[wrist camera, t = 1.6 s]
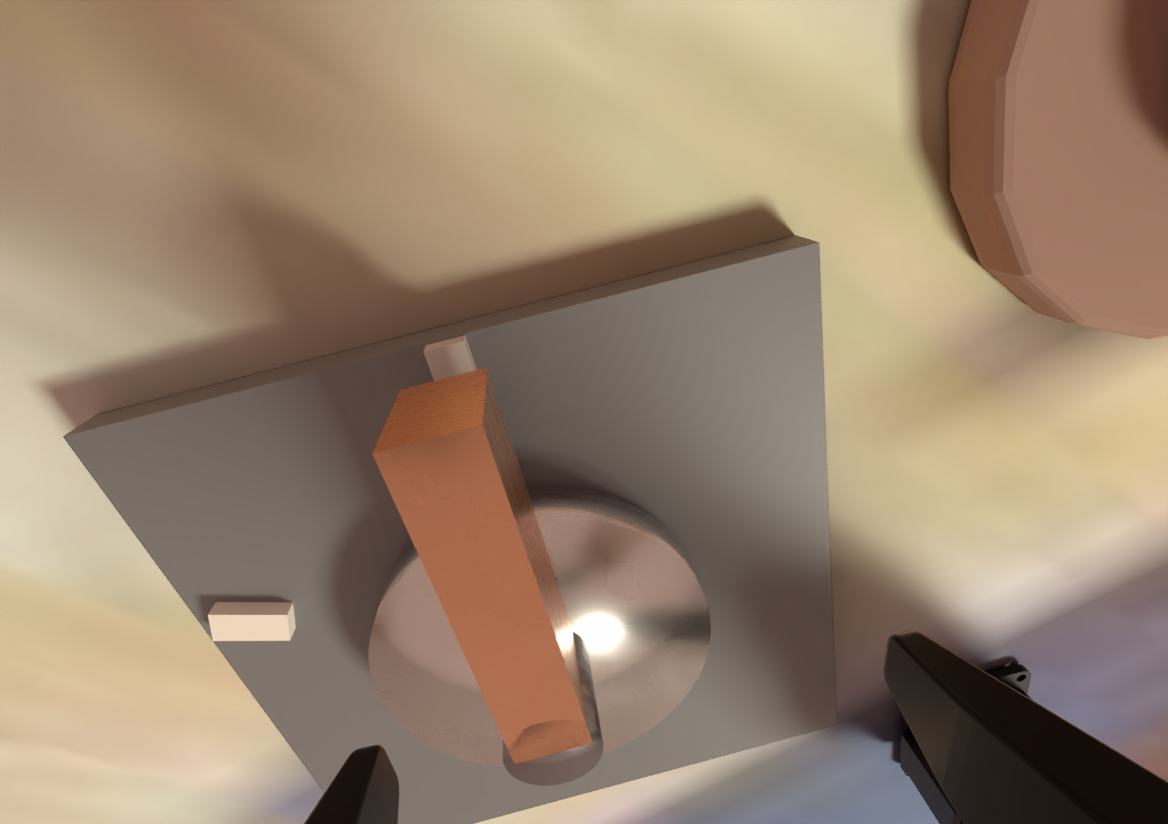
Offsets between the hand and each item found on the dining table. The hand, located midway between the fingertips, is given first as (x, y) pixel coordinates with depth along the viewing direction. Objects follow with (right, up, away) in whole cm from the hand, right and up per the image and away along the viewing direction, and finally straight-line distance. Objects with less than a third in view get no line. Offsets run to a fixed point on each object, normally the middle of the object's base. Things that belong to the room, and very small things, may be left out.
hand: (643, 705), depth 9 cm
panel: (-3, -3, +14) cm, 15 cm away
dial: (-3, -1, +12) cm, 12 cm away
